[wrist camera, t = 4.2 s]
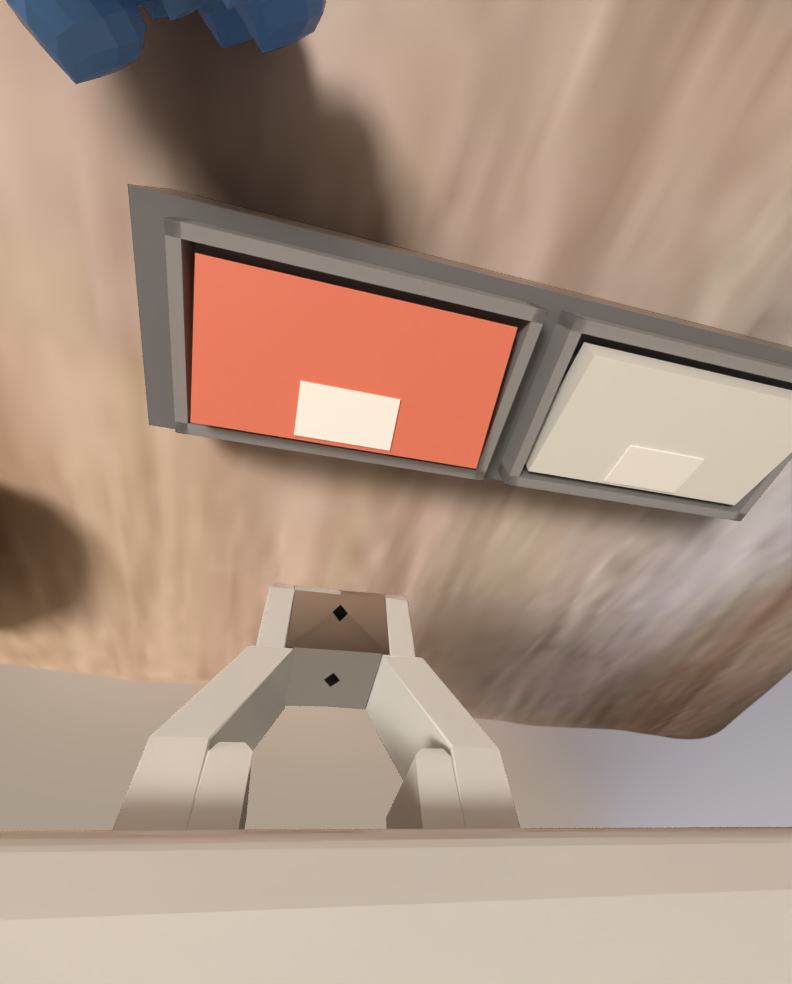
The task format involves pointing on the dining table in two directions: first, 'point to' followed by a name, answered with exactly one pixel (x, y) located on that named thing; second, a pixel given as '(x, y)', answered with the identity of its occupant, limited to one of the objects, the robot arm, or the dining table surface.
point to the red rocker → (341, 365)
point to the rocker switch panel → (433, 283)
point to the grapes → (121, 30)
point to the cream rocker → (662, 427)
